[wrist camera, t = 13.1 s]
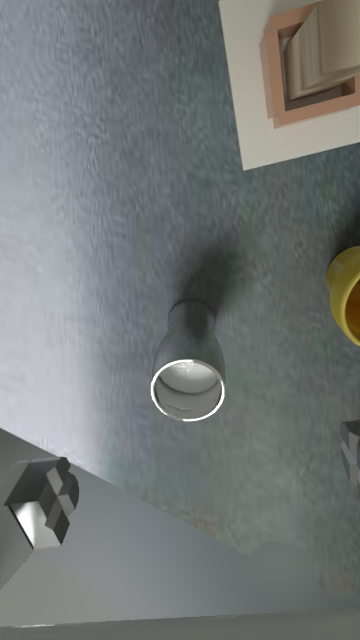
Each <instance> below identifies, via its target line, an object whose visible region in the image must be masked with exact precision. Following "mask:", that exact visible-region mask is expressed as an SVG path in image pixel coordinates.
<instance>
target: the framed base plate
mask: <svg viewBox="0 0 360 640" xmlns="http://www.w3.org/2000/svg"><path fill="white" fill-rule="evenodd" d="M318 1H322V0H220V1H219V3H218V7H219V14H220V20H221V27H222V34H223V41H224V48H225V55H226V61H227V68H228V75H229V82H230V89H231V96H232V102H233V109H234V116H235V123H236V130H237V137H238V144H239V150H240V157H241V164H242V171H244V170H248V169H252V168H256V167H260V166H264V165H268V164H272V163H276V162H280V161H285V160H289V159H293V158H297V157H301V156H305V155H309V154H313V153H317V152H321V151H325V150H329V149H333V148H337V147H341V146H345V145H349V144H353V143H357V142H360V73H358V74H356V75H355V76H353V77H352V78H350V79H348V80H347V81H345V82H344V83H342V84H340V85H339V86H337V87H336V88H334V89H332V90H331V91H327V92H323V93H320V94H316V95H312V96H308V97H305V98H301V99H297V100H294V101H290V102H288V99H287V89H286V78H285V67H284V56H283V52H284V50H285V49H286V47H287V46H288V44H289V43H290V42H291V40H292V39H293V37H294V36H295V34H296V33H297V32H298V30H299V29H300V27H301V26H302V24H303V23H304V22H305V20H306V19H307V17H308V16H309V14H310V13H311V11H312V10H313V9H314V7H315V6H316V4H317V3H318Z"/></svg>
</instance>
